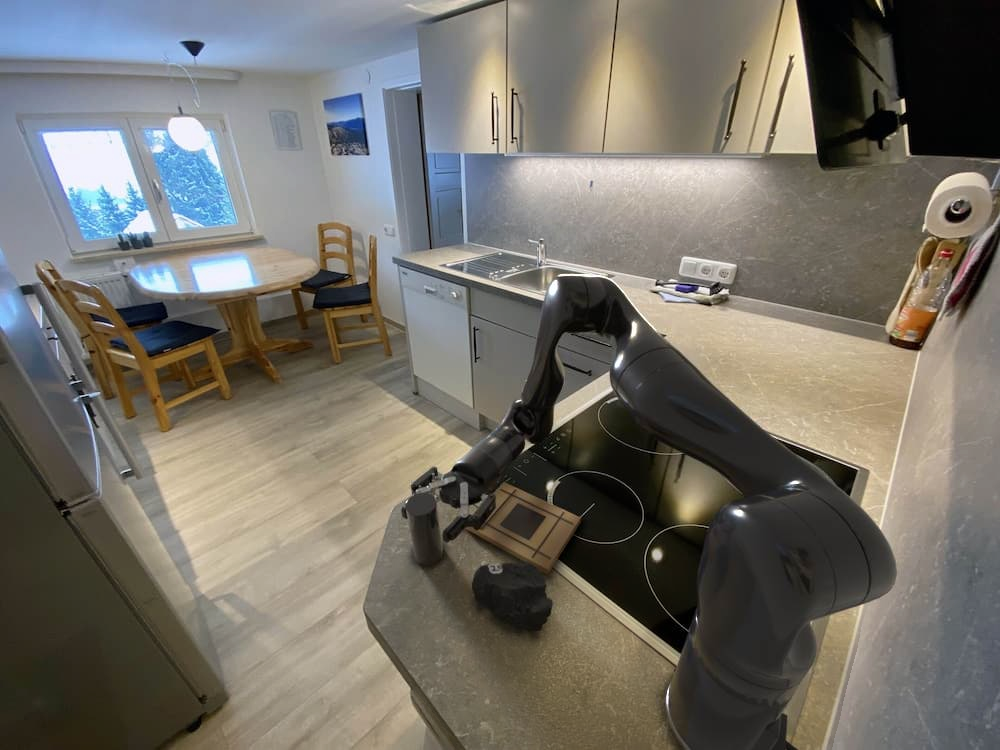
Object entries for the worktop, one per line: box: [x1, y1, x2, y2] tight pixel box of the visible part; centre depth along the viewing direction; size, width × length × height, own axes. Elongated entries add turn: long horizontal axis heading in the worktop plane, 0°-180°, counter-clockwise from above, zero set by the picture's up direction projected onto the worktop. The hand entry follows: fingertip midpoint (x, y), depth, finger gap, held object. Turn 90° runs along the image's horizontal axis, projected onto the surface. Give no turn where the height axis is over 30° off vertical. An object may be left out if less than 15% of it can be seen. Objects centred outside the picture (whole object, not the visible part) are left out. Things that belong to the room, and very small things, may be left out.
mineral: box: [471, 562, 554, 634], centre depth 58 cm, size 10×9×6 cm
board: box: [465, 482, 582, 575], centre depth 71 cm, size 16×12×1 cm
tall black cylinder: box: [405, 493, 444, 566], centre depth 65 cm, size 5×5×11 cm
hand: (423, 526), depth 64 cm, fingers open, 8 cm apart
